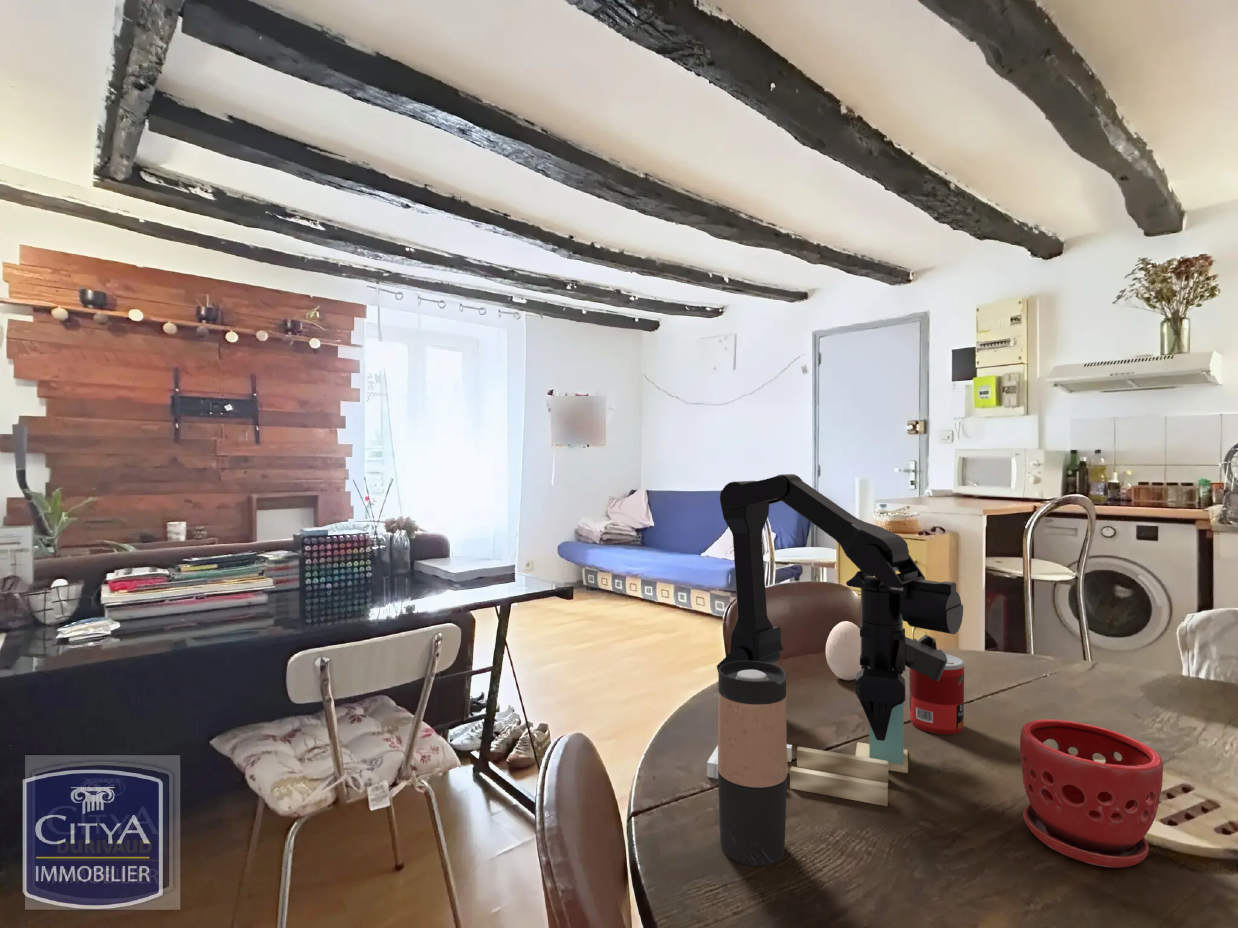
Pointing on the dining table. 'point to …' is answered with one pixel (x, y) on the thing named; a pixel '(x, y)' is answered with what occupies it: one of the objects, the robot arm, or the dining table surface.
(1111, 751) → the plant pot
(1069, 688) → the dining table surface
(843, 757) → the slot rails
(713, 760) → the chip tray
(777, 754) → the travel mug
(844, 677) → the egg
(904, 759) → the cork pad
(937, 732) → the canned food
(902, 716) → the block
